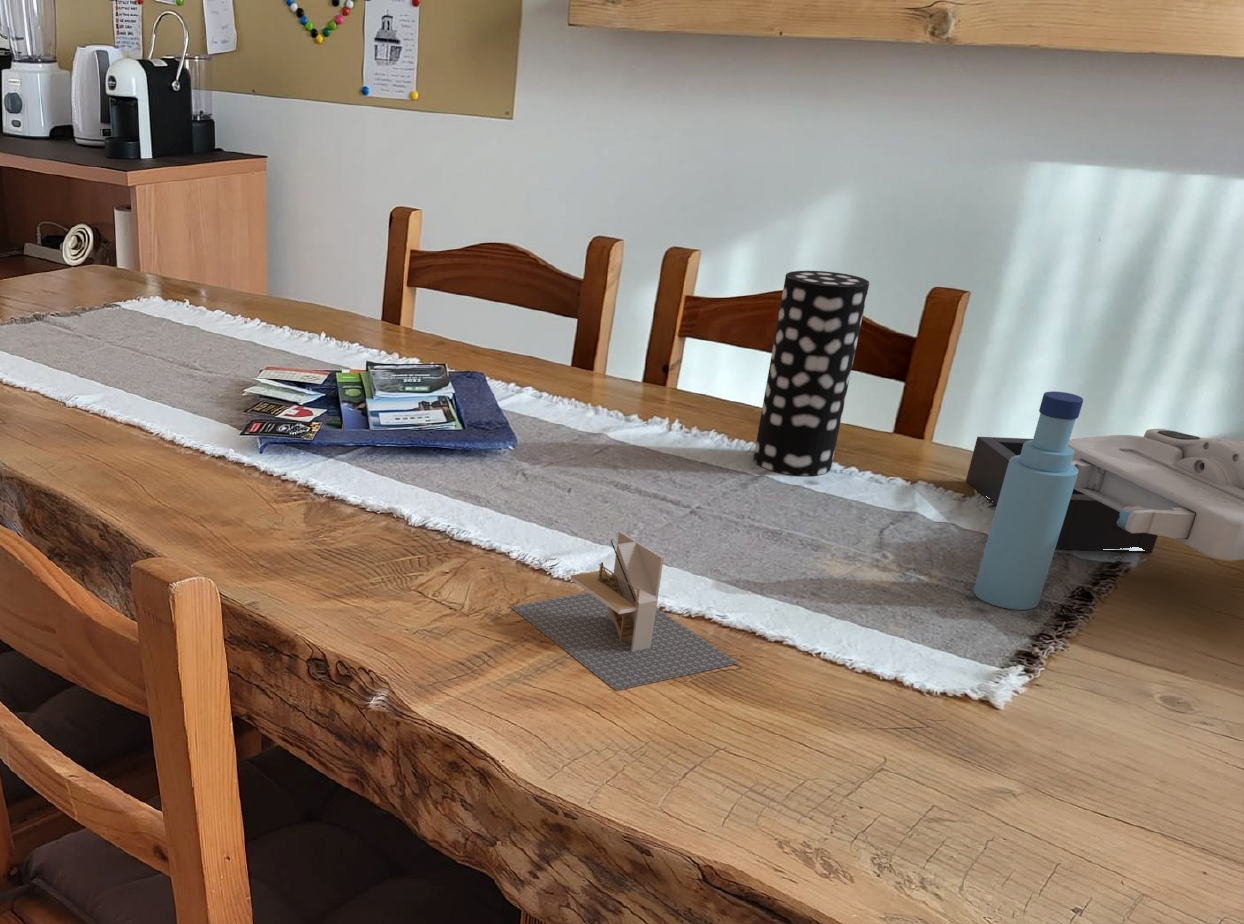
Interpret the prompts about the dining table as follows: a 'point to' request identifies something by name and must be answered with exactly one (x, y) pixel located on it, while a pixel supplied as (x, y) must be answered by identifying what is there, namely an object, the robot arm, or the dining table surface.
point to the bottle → (1031, 509)
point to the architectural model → (623, 623)
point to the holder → (1084, 517)
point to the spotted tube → (809, 371)
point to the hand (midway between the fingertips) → (1083, 499)
